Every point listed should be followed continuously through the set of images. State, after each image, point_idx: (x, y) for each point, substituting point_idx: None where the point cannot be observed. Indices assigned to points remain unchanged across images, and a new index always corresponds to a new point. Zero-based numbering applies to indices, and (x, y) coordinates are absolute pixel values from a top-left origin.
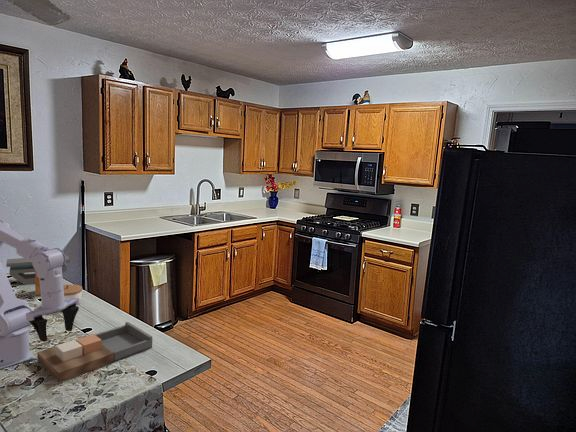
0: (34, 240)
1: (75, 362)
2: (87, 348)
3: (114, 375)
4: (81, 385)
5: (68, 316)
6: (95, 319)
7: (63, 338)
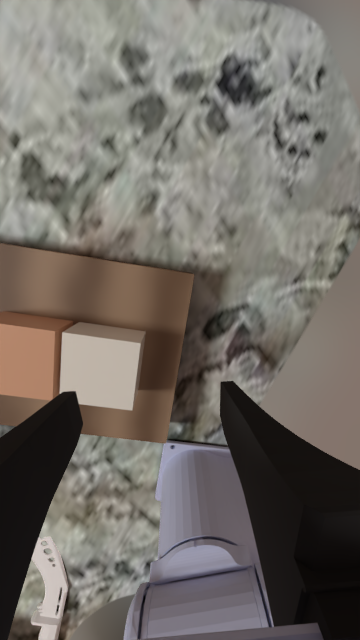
0: None
1: (122, 293)
2: (50, 324)
3: (56, 161)
4: (160, 201)
5: (12, 497)
6: None
7: None
